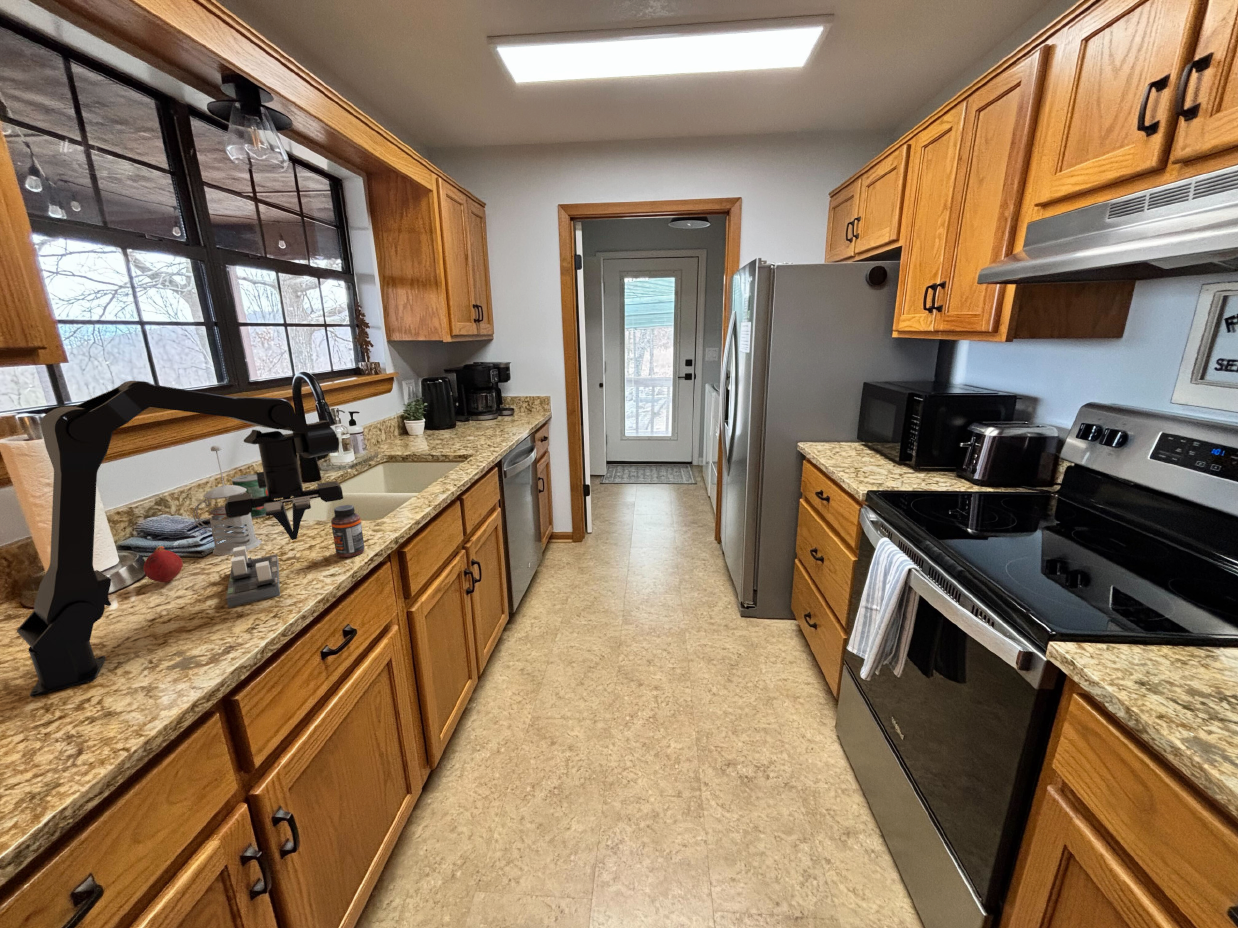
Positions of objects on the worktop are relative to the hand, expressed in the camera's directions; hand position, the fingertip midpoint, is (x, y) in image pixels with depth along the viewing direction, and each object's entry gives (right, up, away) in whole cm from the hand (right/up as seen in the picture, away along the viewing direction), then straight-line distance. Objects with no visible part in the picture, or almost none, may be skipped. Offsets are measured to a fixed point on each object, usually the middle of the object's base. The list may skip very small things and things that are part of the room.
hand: (294, 539), depth 98 cm
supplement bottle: (+2, -6, +17) cm, 18 cm away
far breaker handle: (-15, -6, +6) cm, 17 cm away
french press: (-29, -5, +21) cm, 36 cm away
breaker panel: (-10, -9, +3) cm, 14 cm away
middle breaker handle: (-11, -7, +1) cm, 14 cm away
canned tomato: (-40, 0, +44) cm, 59 cm away
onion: (-28, -10, +4) cm, 30 cm away
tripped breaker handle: (-5, -8, -1) cm, 9 cm away
